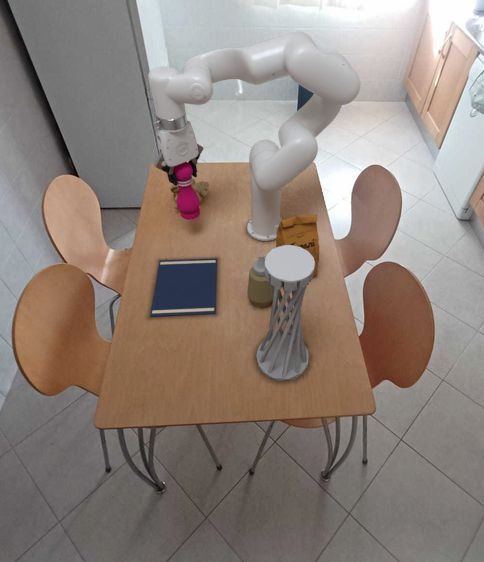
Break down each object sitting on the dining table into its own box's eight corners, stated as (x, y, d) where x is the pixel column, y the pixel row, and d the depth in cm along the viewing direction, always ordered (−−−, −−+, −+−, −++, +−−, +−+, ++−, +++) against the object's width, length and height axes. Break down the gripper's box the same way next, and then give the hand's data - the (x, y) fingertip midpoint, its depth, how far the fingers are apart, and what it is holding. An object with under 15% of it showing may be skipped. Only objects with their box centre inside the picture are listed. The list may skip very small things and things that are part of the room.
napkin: (217, 259, 125) (217, 258, 124) (215, 314, 110) (215, 313, 110) (159, 261, 123) (159, 260, 123) (150, 317, 109) (150, 316, 108)
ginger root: (196, 177, 152) (195, 162, 145) (216, 205, 147) (217, 191, 140) (159, 191, 147) (156, 176, 140) (178, 221, 141) (176, 207, 134)
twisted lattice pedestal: (306, 335, 106) (321, 239, 80) (310, 380, 97) (328, 288, 71) (256, 335, 106) (255, 238, 80) (256, 381, 97) (253, 288, 71)
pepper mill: (200, 221, 123) (190, 165, 108) (177, 221, 123) (164, 164, 108) (203, 207, 128) (194, 151, 113) (181, 206, 128) (169, 151, 113)
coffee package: (319, 281, 120) (328, 225, 103) (280, 287, 117) (283, 231, 101) (310, 258, 126) (317, 203, 110) (272, 264, 124) (274, 208, 107)
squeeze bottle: (279, 293, 116) (281, 249, 102) (269, 314, 111) (271, 270, 97) (253, 286, 117) (252, 242, 104) (243, 306, 112) (241, 262, 99)
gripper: (149, 136, 97) (164, 196, 110) (208, 115, 104) (215, 174, 118) (135, 124, 100) (151, 184, 114) (192, 106, 108) (201, 164, 121)
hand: (183, 178), depth 116 cm, fingers closed on pepper mill, 6 cm apart
